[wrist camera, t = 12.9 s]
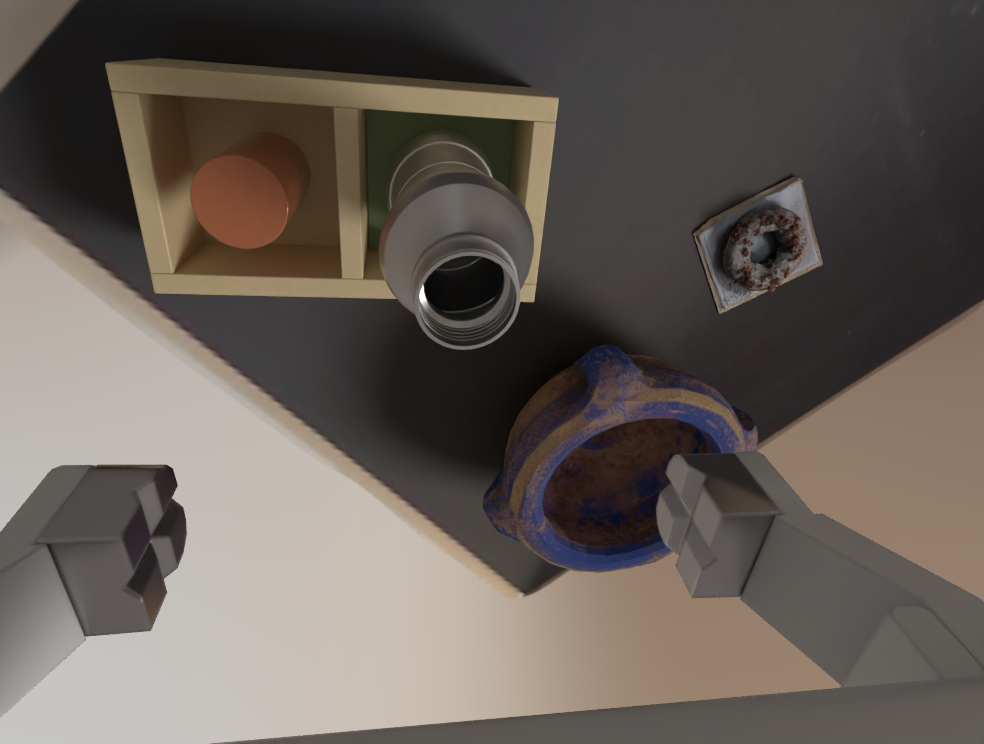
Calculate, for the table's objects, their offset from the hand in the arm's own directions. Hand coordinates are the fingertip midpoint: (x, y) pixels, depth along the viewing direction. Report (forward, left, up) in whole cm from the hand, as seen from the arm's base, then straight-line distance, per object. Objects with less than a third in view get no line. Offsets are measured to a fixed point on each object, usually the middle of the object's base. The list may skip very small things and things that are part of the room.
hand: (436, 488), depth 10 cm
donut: (+5, +26, -32) cm, 41 cm away
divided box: (+1, -3, -32) cm, 32 cm away
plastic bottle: (+1, +2, -31) cm, 31 cm away
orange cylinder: (+1, -9, -31) cm, 32 cm away
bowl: (+20, +16, -32) cm, 41 cm away
